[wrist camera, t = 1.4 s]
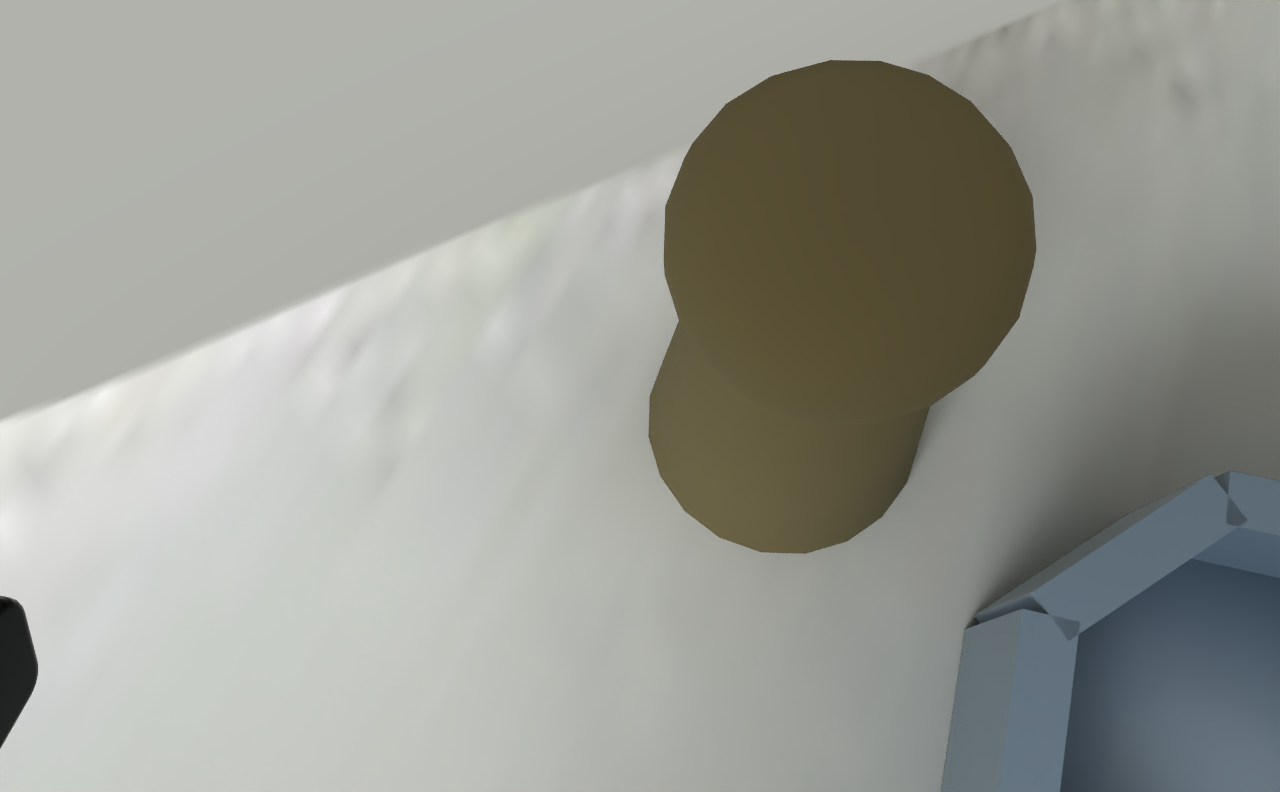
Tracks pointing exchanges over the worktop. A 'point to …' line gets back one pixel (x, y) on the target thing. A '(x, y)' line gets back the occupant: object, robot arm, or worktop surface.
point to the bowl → (1134, 657)
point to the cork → (829, 295)
